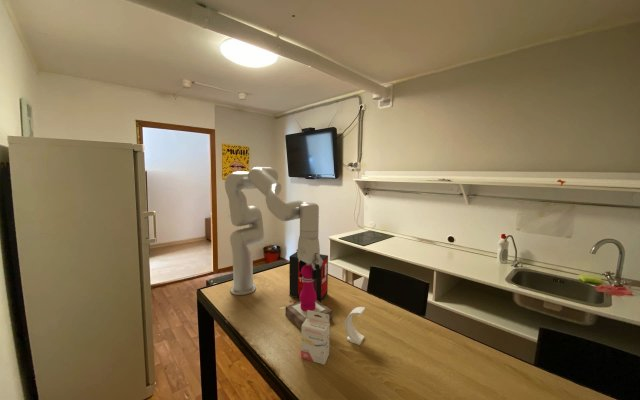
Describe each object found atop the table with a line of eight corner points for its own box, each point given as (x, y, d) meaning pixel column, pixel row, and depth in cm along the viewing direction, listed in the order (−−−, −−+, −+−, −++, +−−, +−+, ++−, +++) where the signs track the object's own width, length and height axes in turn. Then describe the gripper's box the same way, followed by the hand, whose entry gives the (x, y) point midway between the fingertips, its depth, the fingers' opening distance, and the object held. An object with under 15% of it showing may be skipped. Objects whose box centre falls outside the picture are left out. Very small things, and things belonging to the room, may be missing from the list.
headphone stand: (359, 345, 91) (360, 313, 89) (344, 339, 94) (344, 308, 93) (364, 338, 95) (365, 307, 93) (349, 332, 98) (350, 302, 96)
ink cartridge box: (300, 358, 84) (300, 316, 82) (306, 348, 89) (306, 308, 87) (325, 365, 81) (325, 322, 80) (329, 355, 86) (330, 313, 84)
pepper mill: (314, 313, 103) (315, 265, 100) (297, 311, 104) (297, 263, 102) (318, 304, 110) (318, 259, 108) (302, 302, 111) (302, 257, 109)
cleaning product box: (327, 294, 128) (328, 255, 125) (320, 302, 120) (321, 261, 117) (297, 288, 134) (297, 251, 132) (289, 295, 126) (289, 256, 123)
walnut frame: (285, 315, 109) (285, 305, 108) (312, 305, 117) (312, 296, 117) (303, 332, 98) (303, 321, 97) (332, 319, 106) (332, 309, 106)
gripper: (290, 230, 108) (290, 269, 110) (314, 240, 94) (313, 284, 96) (305, 228, 112) (304, 266, 114) (329, 237, 99) (329, 279, 101)
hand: (308, 274), depth 105 cm, fingers open, 9 cm apart
